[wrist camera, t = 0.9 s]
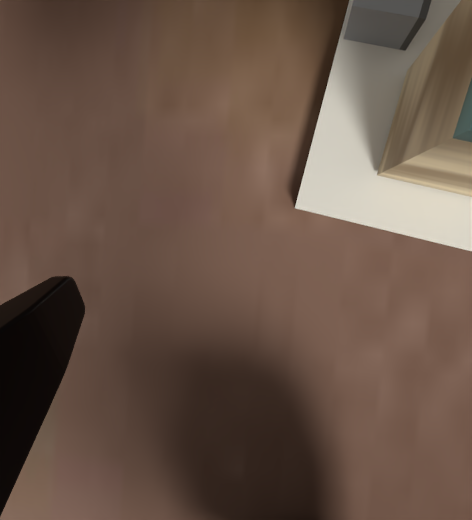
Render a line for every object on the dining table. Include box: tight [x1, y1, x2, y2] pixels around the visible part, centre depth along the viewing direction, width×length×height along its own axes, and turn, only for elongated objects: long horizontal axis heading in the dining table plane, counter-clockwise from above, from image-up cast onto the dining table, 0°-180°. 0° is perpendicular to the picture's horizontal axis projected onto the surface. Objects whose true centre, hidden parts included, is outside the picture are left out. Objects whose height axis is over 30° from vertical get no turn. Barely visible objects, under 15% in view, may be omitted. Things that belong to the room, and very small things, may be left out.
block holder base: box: [295, 0, 472, 251], centre depth 18 cm, size 14×12×4 cm
